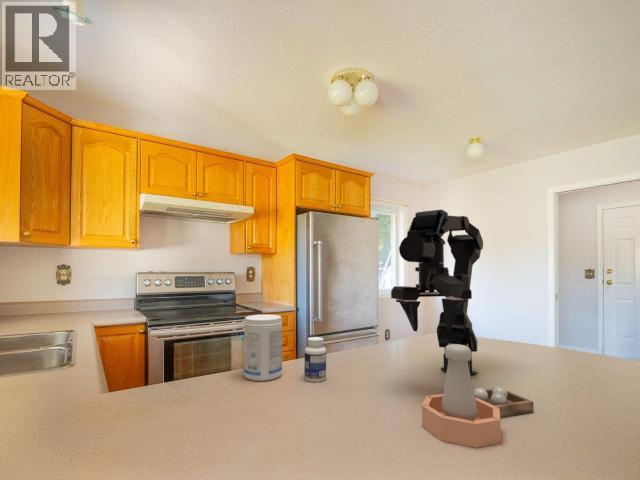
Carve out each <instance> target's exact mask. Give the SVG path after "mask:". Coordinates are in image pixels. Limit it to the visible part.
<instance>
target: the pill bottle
mask: <svg viewBox="0 0 640 480" xmlns="http://www.w3.org/2000/svg"><path fill="white" fill-rule="evenodd" d="M324 343H325V340H324V337H321V336H320V337H319V336H311V337H308V338H307V345H308V346H306V347H305V349H304V368H303V369H304V373H303V374H304V379H305V381H308V382H312V383H313V382H314V383H317V382H318V383H319V382H323V381H325V380H326V379H327V348H326V347H325V346H324Z"/></svg>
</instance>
